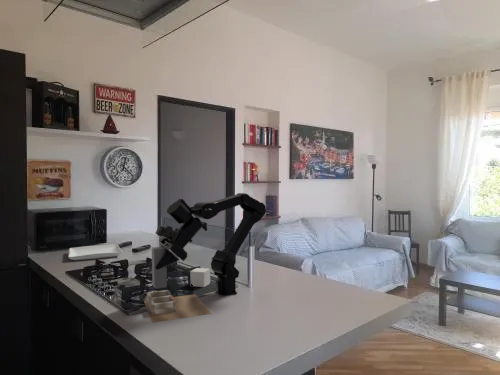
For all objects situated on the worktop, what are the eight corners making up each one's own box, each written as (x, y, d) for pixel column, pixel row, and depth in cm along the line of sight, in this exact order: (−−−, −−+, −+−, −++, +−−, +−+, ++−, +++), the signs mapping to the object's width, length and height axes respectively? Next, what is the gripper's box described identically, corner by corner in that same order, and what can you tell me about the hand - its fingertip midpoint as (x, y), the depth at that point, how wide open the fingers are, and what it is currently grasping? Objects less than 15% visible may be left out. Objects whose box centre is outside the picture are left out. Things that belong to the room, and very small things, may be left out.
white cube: (204, 287, 146) (204, 272, 146) (190, 286, 148) (190, 271, 147) (210, 283, 152) (210, 268, 151) (197, 282, 153) (196, 267, 153)
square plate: (69, 253, 217) (69, 247, 217) (118, 249, 229) (118, 243, 229) (68, 263, 193) (68, 255, 193) (122, 258, 204) (122, 251, 204)
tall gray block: (164, 284, 126) (163, 246, 126) (166, 287, 122) (166, 248, 122) (152, 285, 124) (151, 247, 124) (154, 288, 121) (153, 249, 120)
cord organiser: (195, 296, 133) (195, 285, 133) (211, 316, 114) (211, 302, 114) (143, 303, 126) (143, 291, 126) (152, 325, 107) (152, 311, 107)
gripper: (164, 214, 133) (133, 247, 128) (176, 219, 116) (141, 257, 111) (186, 234, 136) (156, 267, 132) (201, 241, 119) (167, 279, 115)
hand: (155, 267), depth 122 cm, fingers closed on tall gray block, 4 cm apart
